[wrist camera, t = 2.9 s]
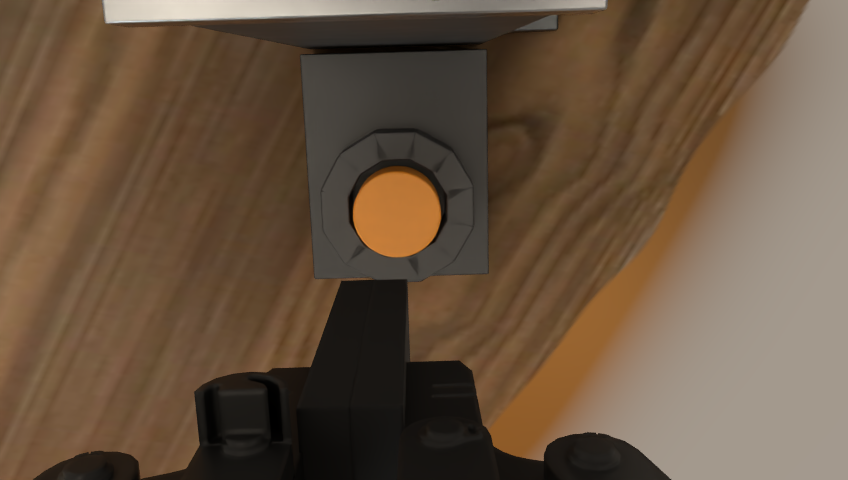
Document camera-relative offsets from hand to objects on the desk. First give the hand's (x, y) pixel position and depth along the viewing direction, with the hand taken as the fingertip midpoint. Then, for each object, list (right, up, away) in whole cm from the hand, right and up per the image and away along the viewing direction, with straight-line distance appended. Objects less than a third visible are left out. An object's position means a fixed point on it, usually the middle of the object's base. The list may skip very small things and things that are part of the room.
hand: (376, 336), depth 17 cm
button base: (0, +6, +19) cm, 20 cm away
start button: (0, +4, +15) cm, 15 cm away
